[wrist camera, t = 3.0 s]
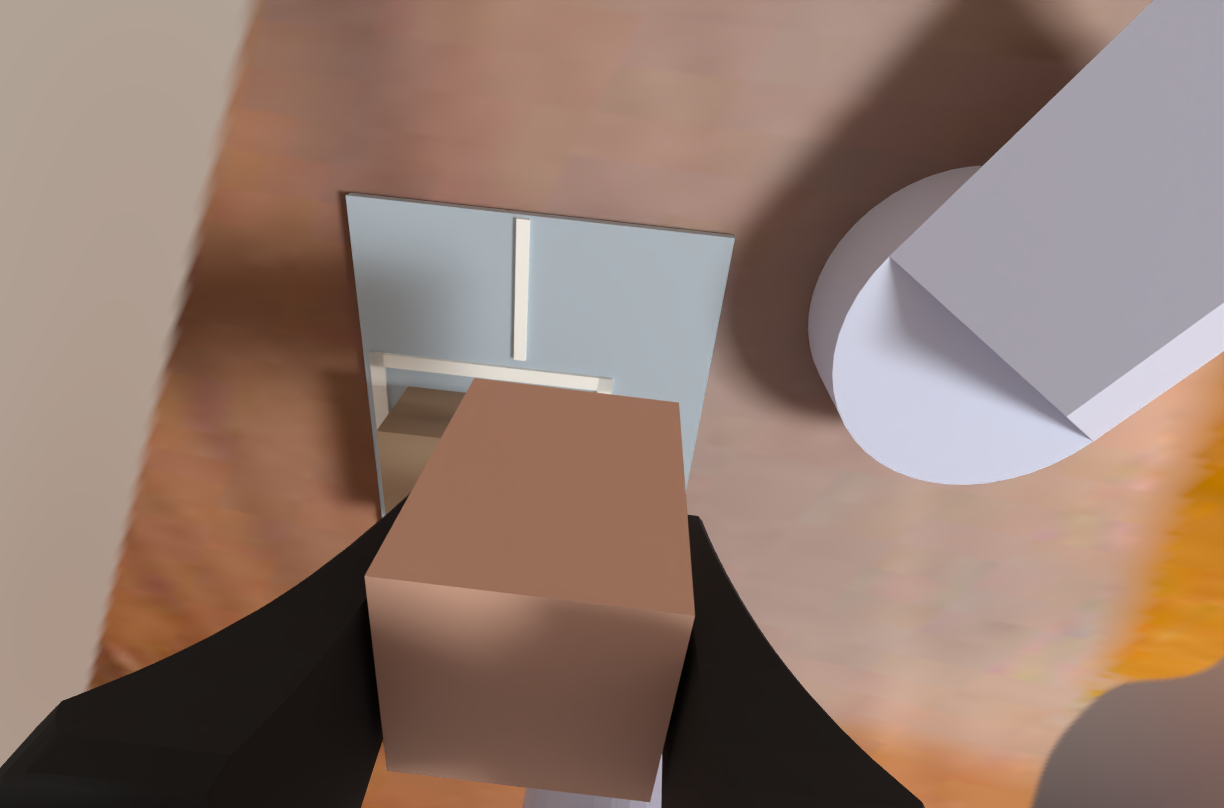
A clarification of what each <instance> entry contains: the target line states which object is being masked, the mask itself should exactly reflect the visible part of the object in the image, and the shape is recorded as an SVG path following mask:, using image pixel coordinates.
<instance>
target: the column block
mask: <svg viewBox="0 0 1224 808" xmlns="http://www.w3.org/2000/svg"><path fill="white" fill-rule="evenodd" d="M365 585H366V593H367V602H368V611H369V619H370V628H371V637H372V645H373V654H374V663H375V671H376V680H377V689H378V697H379V706H380V715H381V723H382V732H383V741H384V749H385V758H386V767H387V771H393V772H401V773H409V774H418V775H426V776H435V777H443V778H451V779H460V780H468V781H476V782H485V783H493V784H501V785H510V786H518V787H526V788H535V789H543V790H551V791H560V792H568V793H577V794H585V795H593V796H602V797H610V798H618V799H627V800H635V801H643V802H650V800H651V796H652V792H653V788H654V784H655V780H656V776H657V771H658V767H659V763H660V759H661V755H662V751H663V747H664V742H665V738H666V734H667V730H668V726H669V722H670V718H671V713H672V709H673V705H674V701H675V697H676V693H677V688H678V684H679V680H680V676H681V672H682V668H683V664H684V659H685V655H686V651H687V647H688V643H689V639H690V635H691V630H692V626H693V622H694V618H695V609H694V595H693V582H692V569H691V556H690V542H689V529H688V516H687V502H686V489H685V476H684V462H683V449H682V436H681V422H680V409H679V402H670V401H662V400H654V399H646V398H637V397H629V396H621V395H613V394H604V393H596V392H588V391H580V390H571V389H563V388H555V387H547V386H538V385H530V384H522V383H513V382H505V381H497V380H489V379H480V378H474V379H473V381H472V383H471V385H470V386H469V388H468V390H467V392H466V394H465V395H464V397H463V399H462V401H461V403H460V405H459V406H458V408H457V410H456V412H455V414H454V415H453V417H452V419H451V421H450V423H449V424H448V426H447V428H446V430H445V432H444V433H443V435H442V437H441V439H440V441H439V442H438V444H437V446H436V448H435V450H434V451H433V453H432V455H431V457H430V459H429V461H428V462H427V464H426V466H425V468H424V470H423V471H422V473H421V475H420V477H419V479H418V480H417V482H416V484H415V486H414V488H413V489H412V491H411V493H410V495H409V497H408V498H407V500H406V502H405V504H404V506H403V507H402V509H401V511H400V513H399V515H398V516H397V518H396V520H395V522H394V524H393V526H392V527H391V529H390V531H389V533H388V535H387V536H386V538H385V540H384V542H383V544H382V545H381V547H380V549H379V551H378V553H377V554H376V556H375V558H374V560H373V562H372V563H371V565H370V567H369V569H368V571H367V572H366V574H365Z"/></svg>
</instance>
